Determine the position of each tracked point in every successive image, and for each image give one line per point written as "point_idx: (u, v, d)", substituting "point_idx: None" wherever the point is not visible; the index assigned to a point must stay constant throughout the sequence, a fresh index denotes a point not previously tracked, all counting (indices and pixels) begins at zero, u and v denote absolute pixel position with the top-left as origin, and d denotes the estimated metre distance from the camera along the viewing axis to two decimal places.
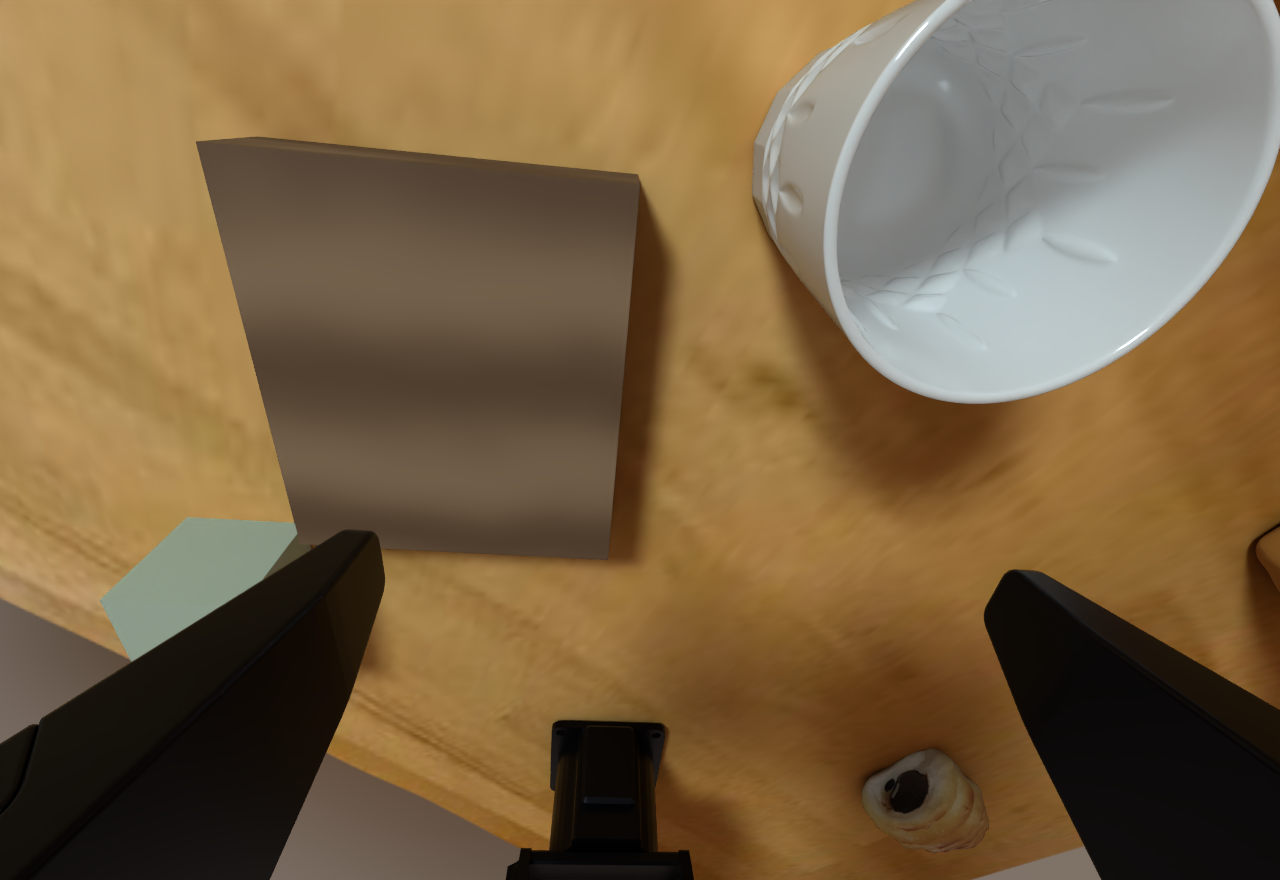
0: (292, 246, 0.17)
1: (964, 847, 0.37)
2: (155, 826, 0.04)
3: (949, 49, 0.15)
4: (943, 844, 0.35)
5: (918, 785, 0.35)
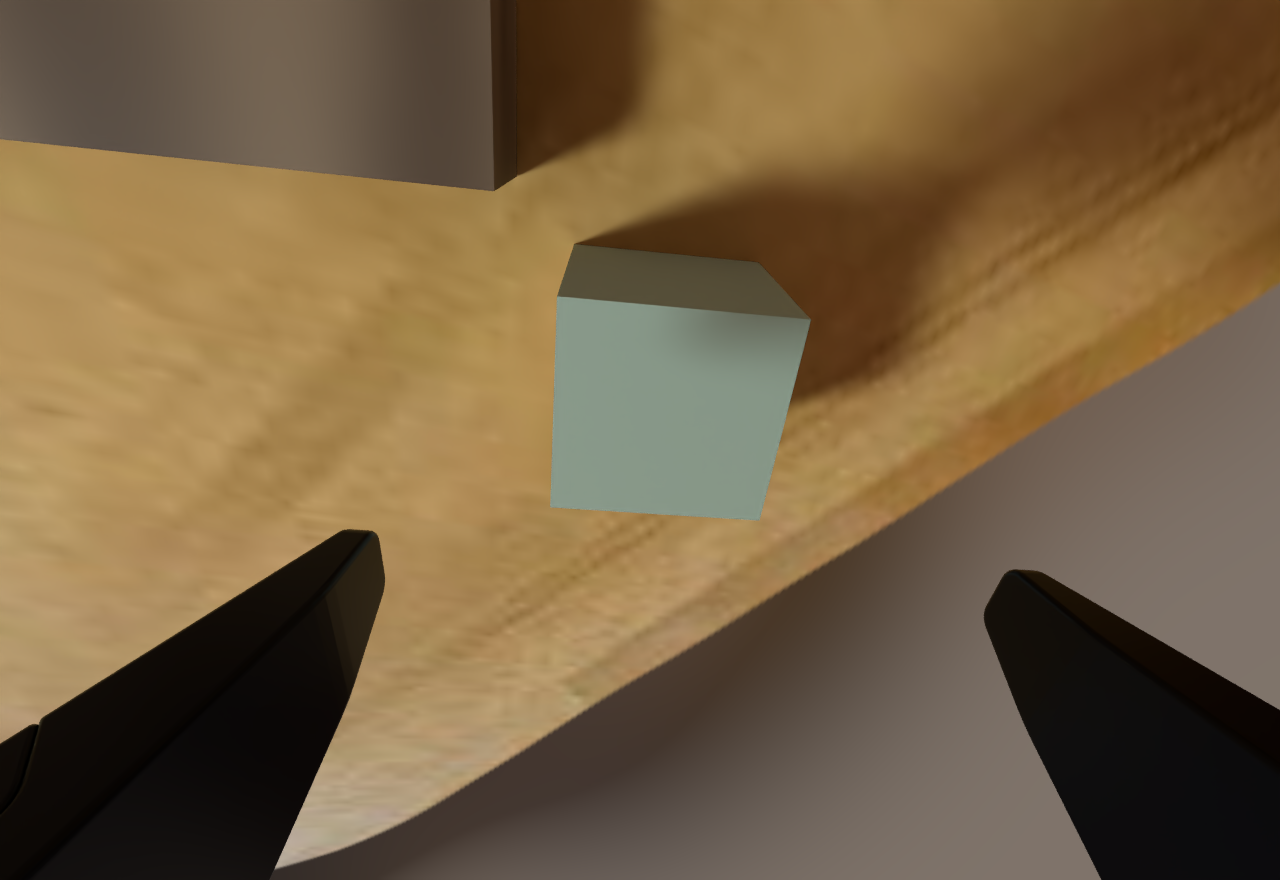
0: None
1: None
2: (155, 826, 0.04)
3: None
4: None
5: None
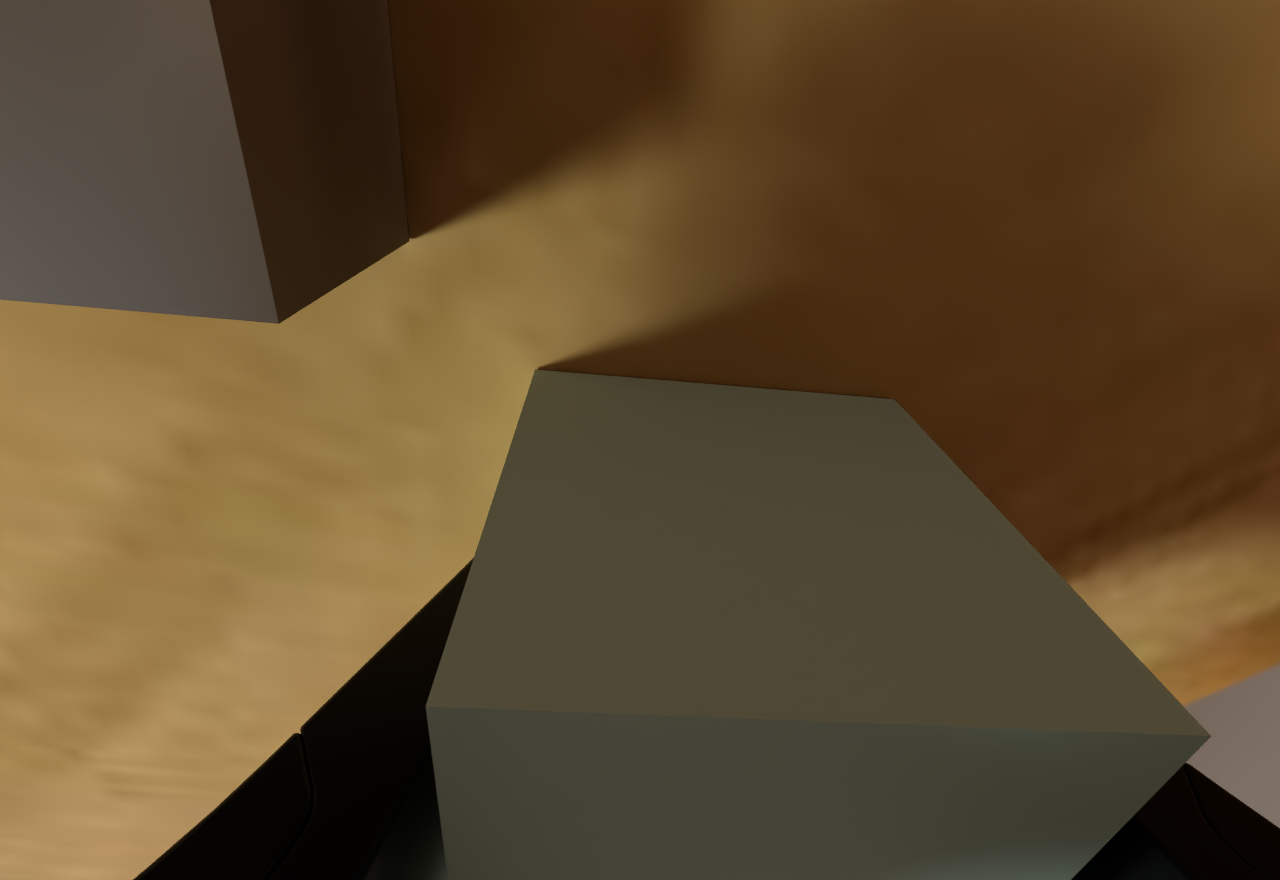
0: None
1: None
2: (416, 832, 0.04)
3: None
4: None
5: None
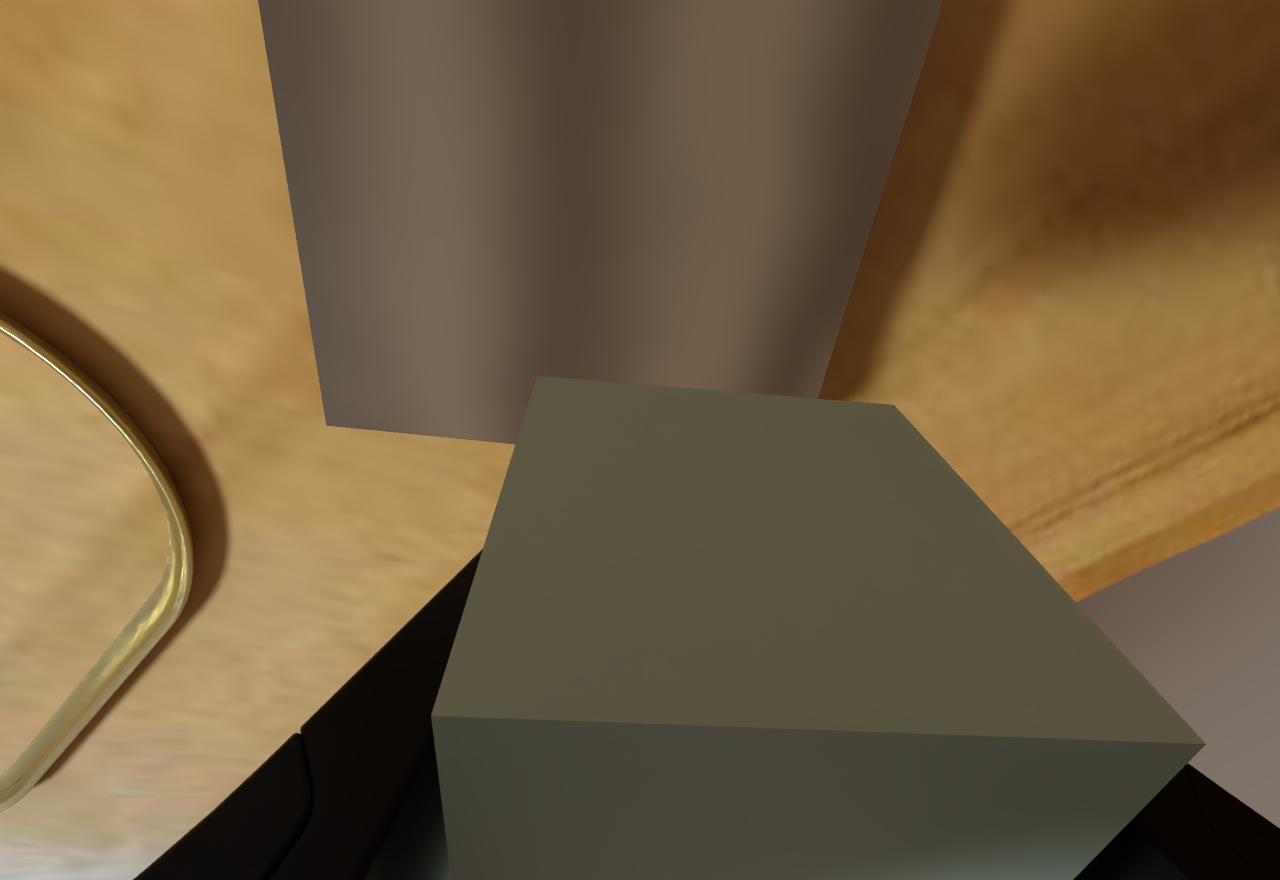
0: (412, 371, 0.16)
1: None
2: (416, 832, 0.04)
3: None
4: None
5: None
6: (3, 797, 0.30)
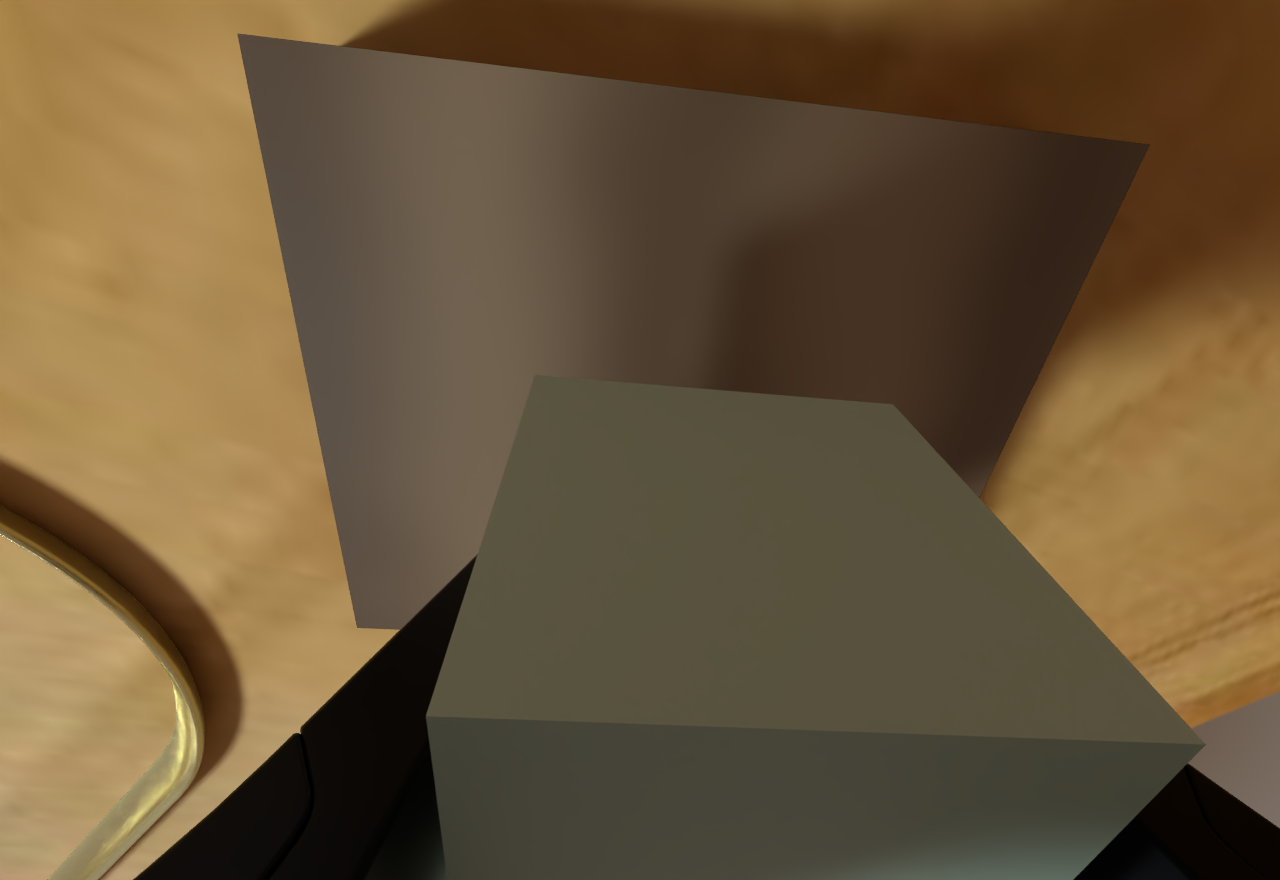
0: (459, 571, 0.13)
1: None
2: (416, 832, 0.04)
3: None
4: None
5: None
6: None
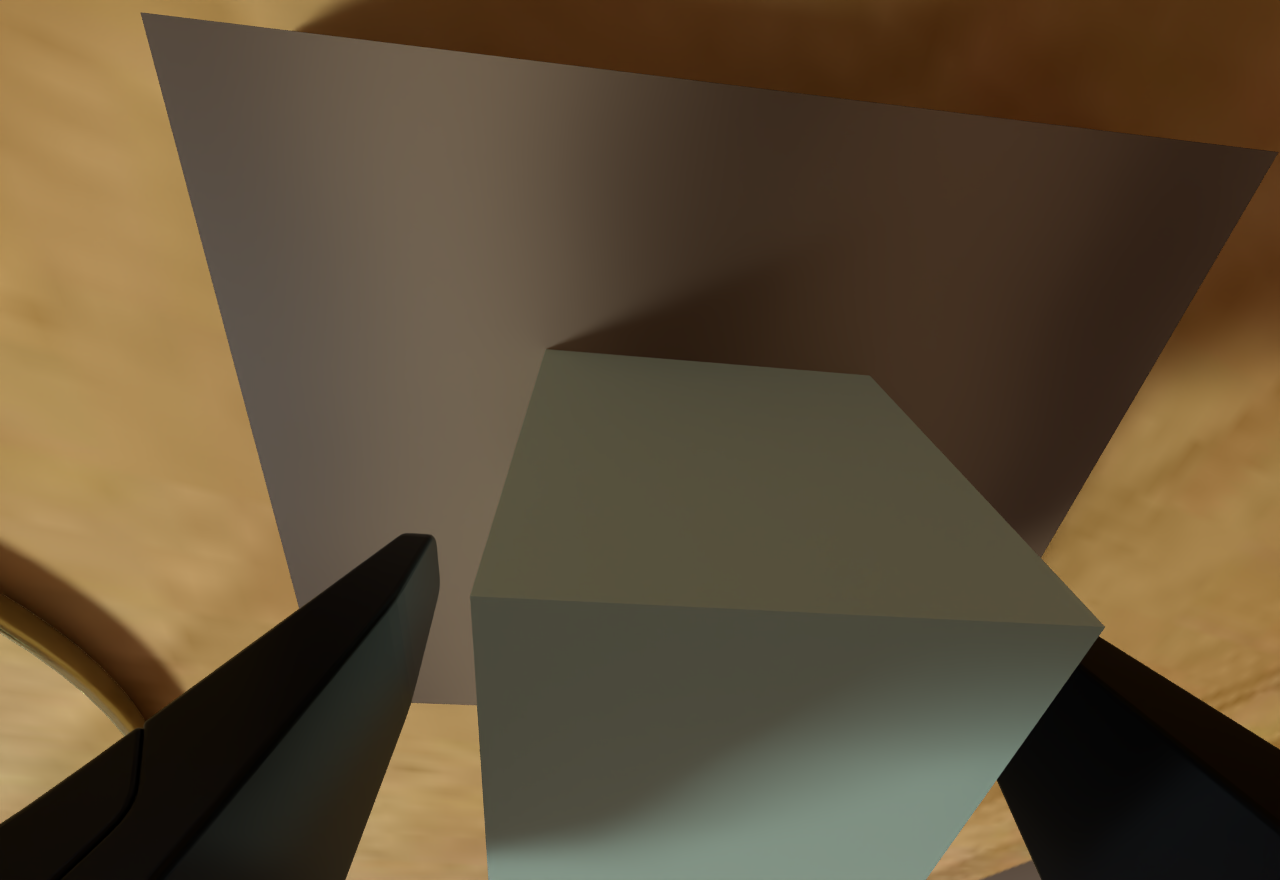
0: (438, 640, 0.12)
1: None
2: (259, 828, 0.04)
3: None
4: None
5: None
6: None
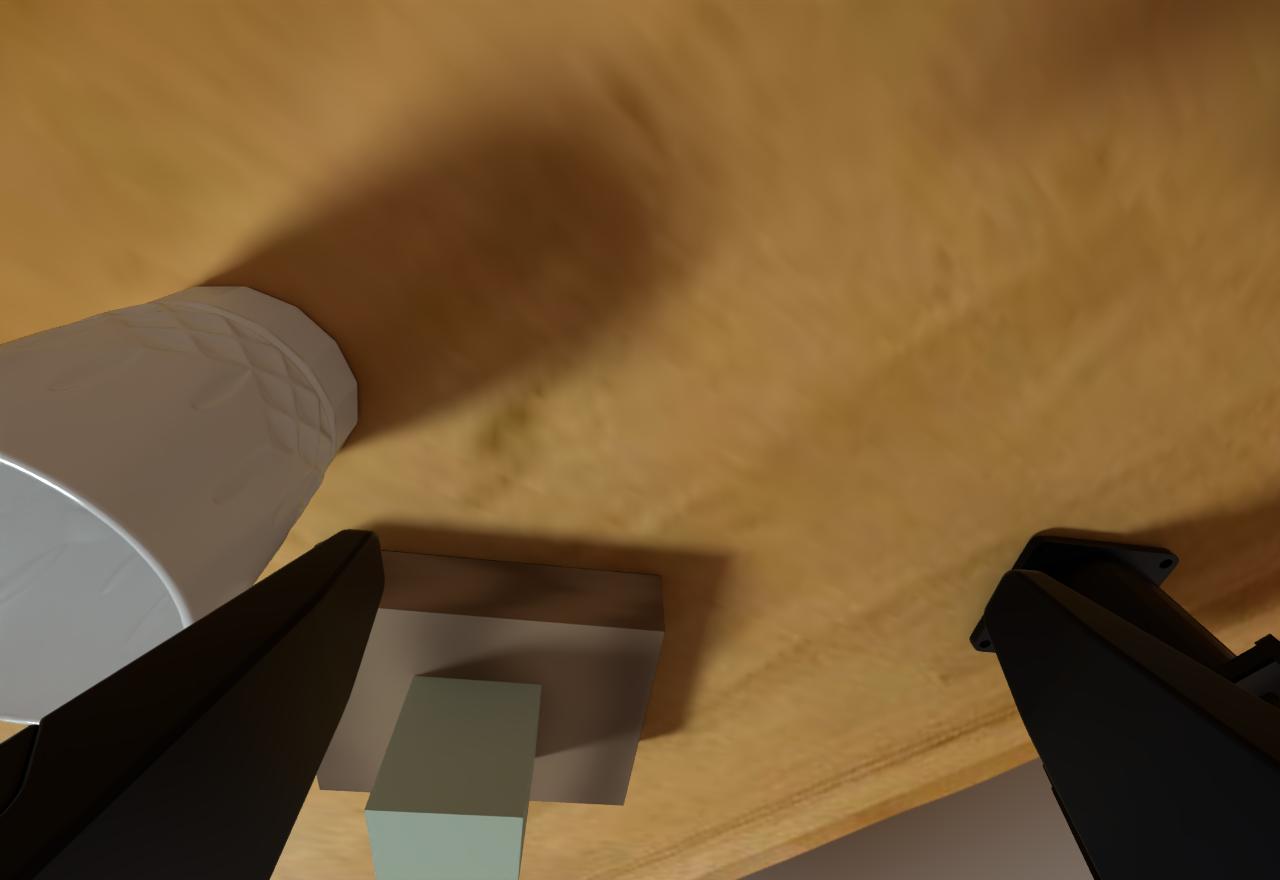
0: (374, 767, 0.26)
1: None
2: (154, 826, 0.04)
3: None
4: None
5: None
6: None
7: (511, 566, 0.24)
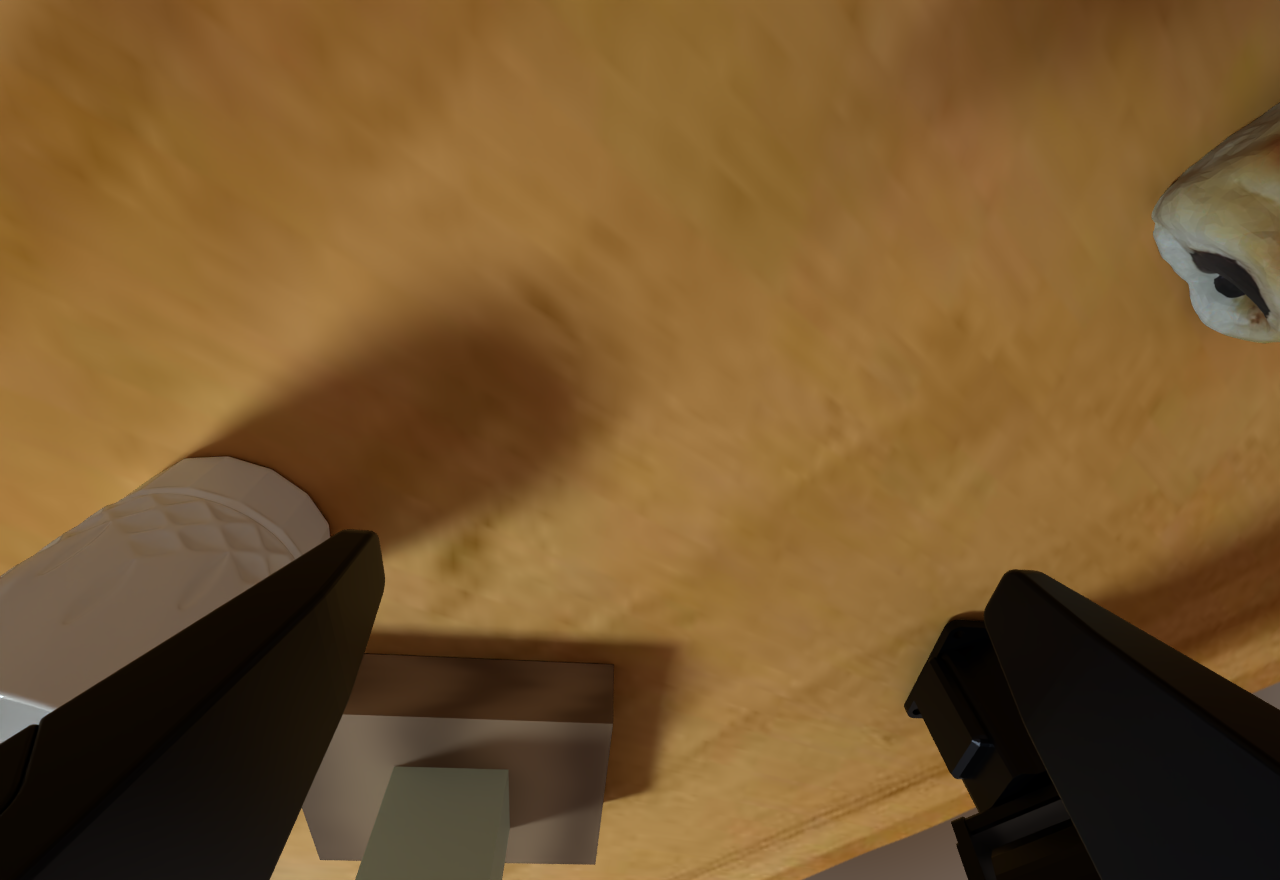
0: (366, 840, 0.28)
1: None
2: (155, 826, 0.04)
3: None
4: None
5: (1217, 266, 0.17)
6: None
7: (478, 663, 0.26)
